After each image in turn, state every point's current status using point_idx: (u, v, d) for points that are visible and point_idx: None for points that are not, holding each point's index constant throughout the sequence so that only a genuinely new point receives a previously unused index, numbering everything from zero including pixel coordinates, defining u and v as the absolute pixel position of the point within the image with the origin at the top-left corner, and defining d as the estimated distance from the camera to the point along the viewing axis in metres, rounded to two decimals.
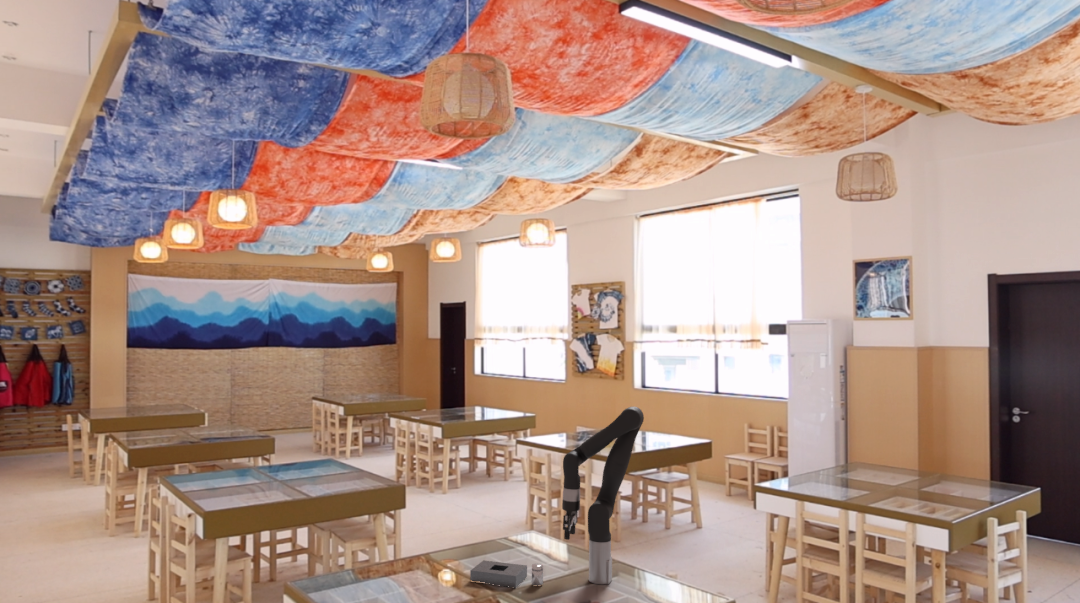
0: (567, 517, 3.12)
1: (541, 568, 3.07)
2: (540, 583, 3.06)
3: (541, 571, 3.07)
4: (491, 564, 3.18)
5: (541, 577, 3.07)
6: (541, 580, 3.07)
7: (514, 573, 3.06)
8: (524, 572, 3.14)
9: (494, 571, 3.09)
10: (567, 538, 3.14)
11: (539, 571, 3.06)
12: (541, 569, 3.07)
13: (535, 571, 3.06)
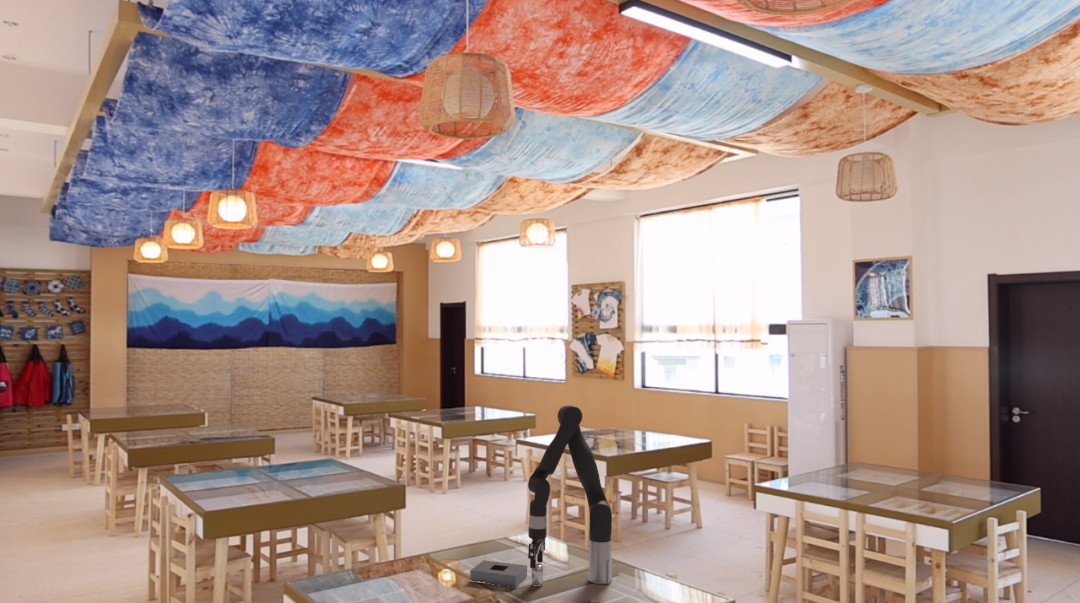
0: (532, 545, 3.02)
1: (541, 568, 3.07)
2: (540, 583, 3.06)
3: (541, 571, 3.07)
4: (491, 564, 3.18)
5: (541, 577, 3.07)
6: (541, 580, 3.07)
7: (514, 573, 3.06)
8: (524, 572, 3.14)
9: (494, 571, 3.09)
10: (533, 567, 3.04)
11: (539, 571, 3.06)
12: (541, 569, 3.07)
13: (535, 571, 3.06)
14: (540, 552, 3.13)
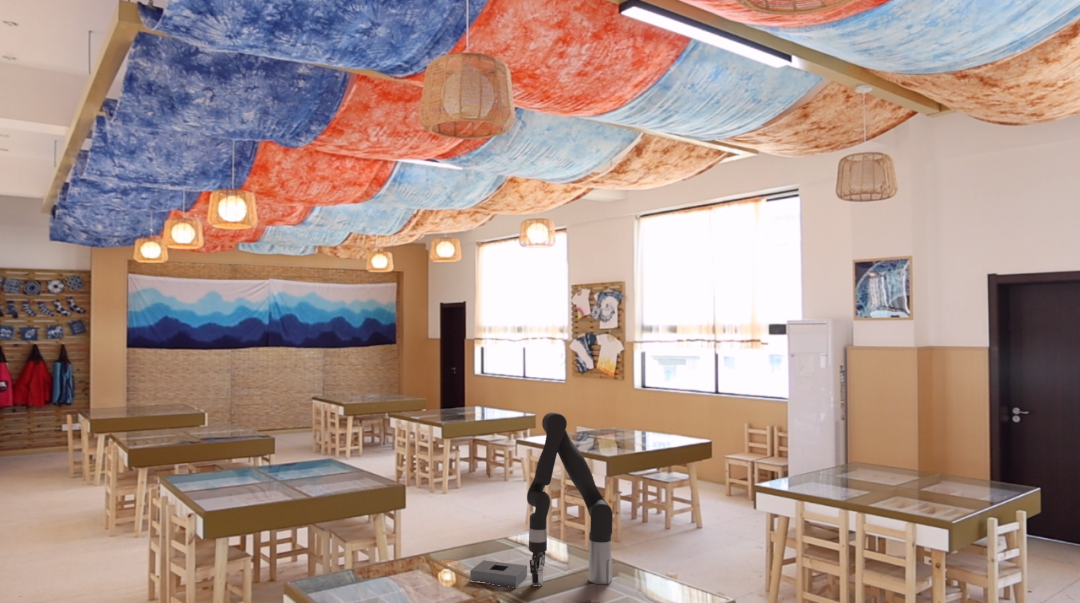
0: (533, 562, 3.02)
1: (541, 568, 3.07)
2: (540, 583, 3.06)
3: (541, 571, 3.07)
4: (491, 564, 3.18)
5: (541, 577, 3.07)
6: (541, 580, 3.07)
7: (514, 573, 3.06)
8: (524, 572, 3.14)
9: (494, 571, 3.09)
10: (535, 582, 3.05)
11: (539, 571, 3.06)
12: (541, 569, 3.07)
13: None
14: None
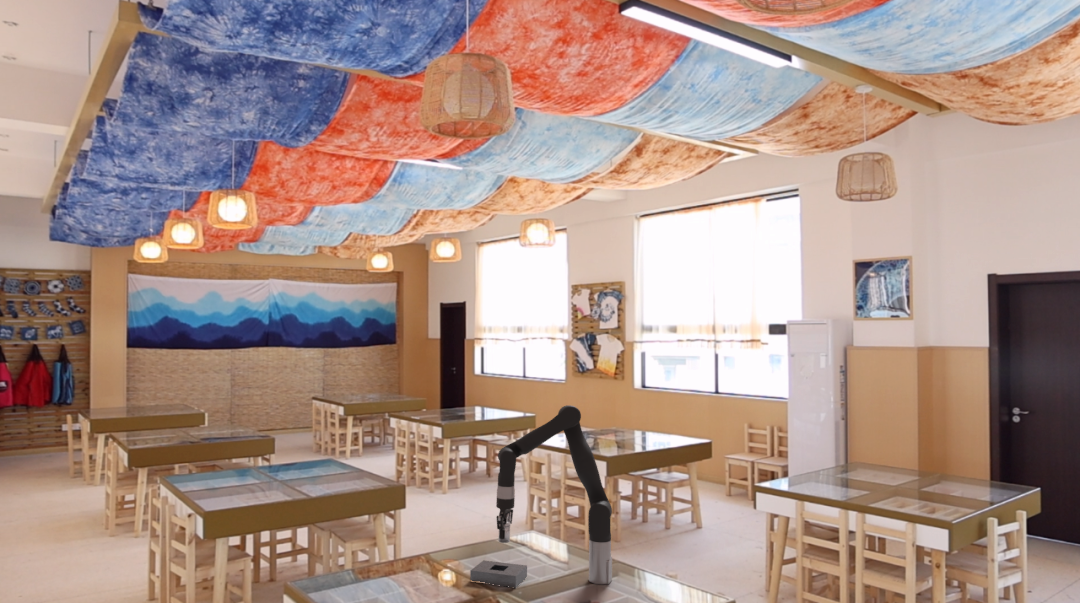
0: (500, 518, 3.07)
1: (508, 524, 3.11)
2: (506, 539, 3.11)
3: (508, 527, 3.11)
4: (491, 564, 3.18)
5: (508, 533, 3.12)
6: (508, 536, 3.11)
7: (514, 573, 3.06)
8: (524, 572, 3.14)
9: (494, 571, 3.09)
10: (502, 537, 3.10)
11: (506, 527, 3.11)
12: (508, 525, 3.11)
13: None
14: None
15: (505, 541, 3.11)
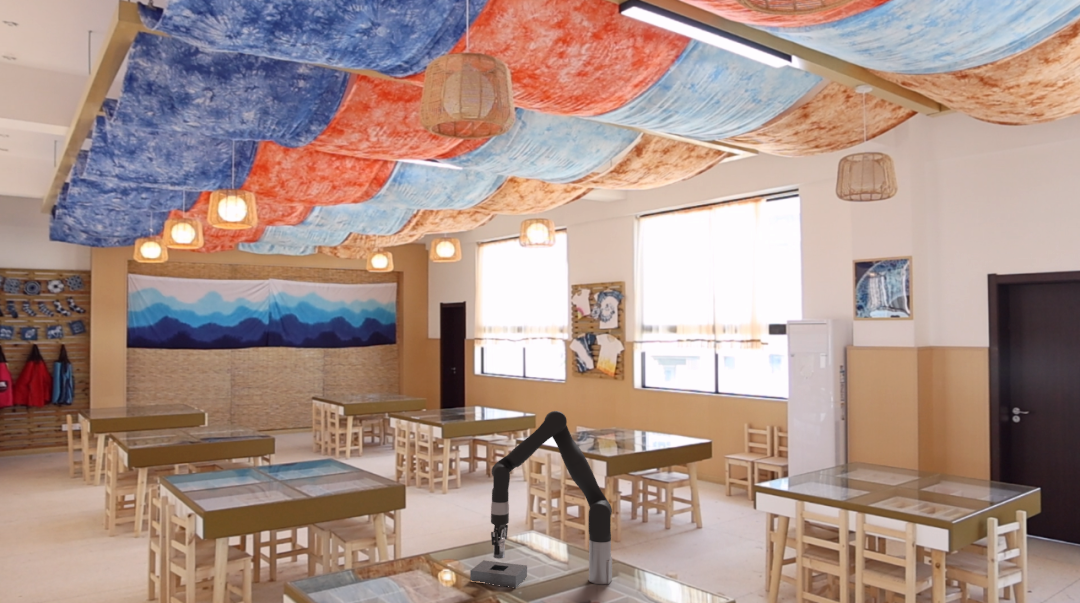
0: (494, 534, 3.08)
1: (502, 540, 3.12)
2: (501, 555, 3.12)
3: (502, 543, 3.12)
4: (491, 564, 3.18)
5: (502, 549, 3.12)
6: (502, 552, 3.12)
7: (514, 573, 3.06)
8: (524, 572, 3.14)
9: (494, 571, 3.09)
10: (497, 553, 3.10)
11: (500, 543, 3.12)
12: (502, 541, 3.12)
13: None
14: None
15: (500, 557, 3.12)
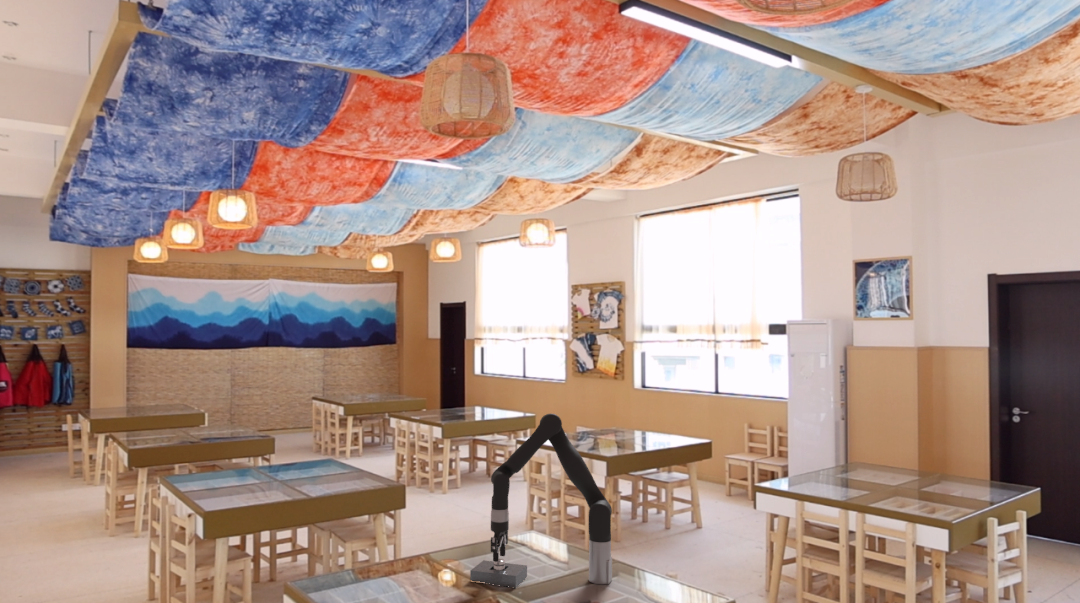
0: (494, 539, 3.07)
1: (502, 563, 3.12)
2: None
3: (502, 566, 3.12)
4: (491, 564, 3.18)
5: None
6: None
7: (514, 573, 3.06)
8: (524, 572, 3.14)
9: (494, 571, 3.09)
10: (496, 560, 3.09)
11: (500, 566, 3.12)
12: (502, 564, 3.12)
13: (496, 566, 3.12)
14: (503, 546, 3.17)
15: None
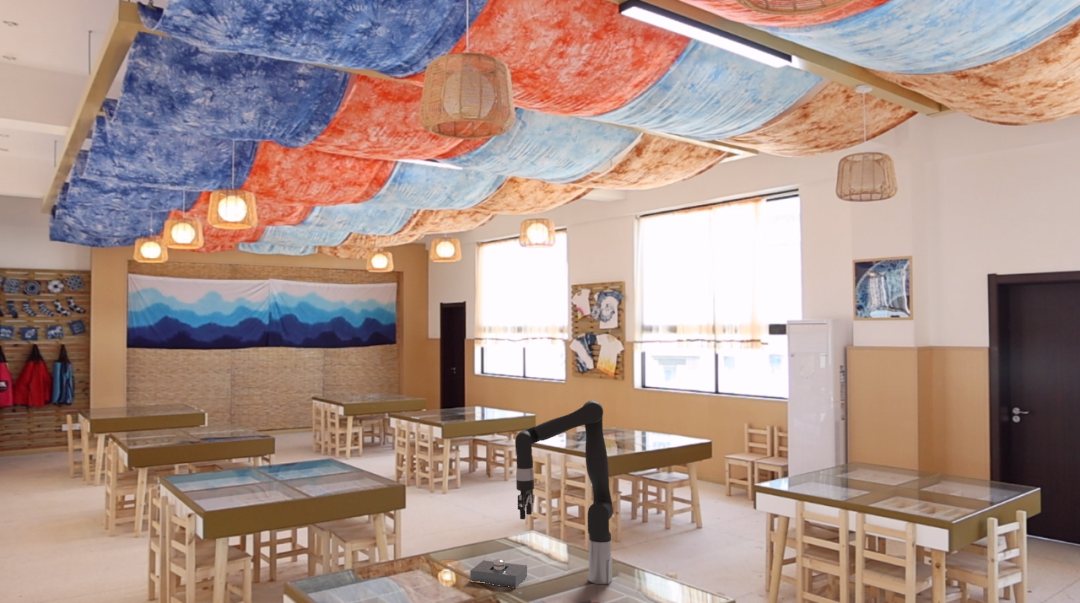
0: (521, 496, 3.12)
1: (502, 563, 3.12)
2: None
3: (502, 566, 3.12)
4: (491, 564, 3.18)
5: None
6: None
7: (514, 573, 3.06)
8: (524, 572, 3.14)
9: (494, 571, 3.09)
10: (523, 518, 3.13)
11: (500, 566, 3.11)
12: (502, 564, 3.12)
13: (496, 566, 3.11)
14: (529, 504, 3.22)
15: None
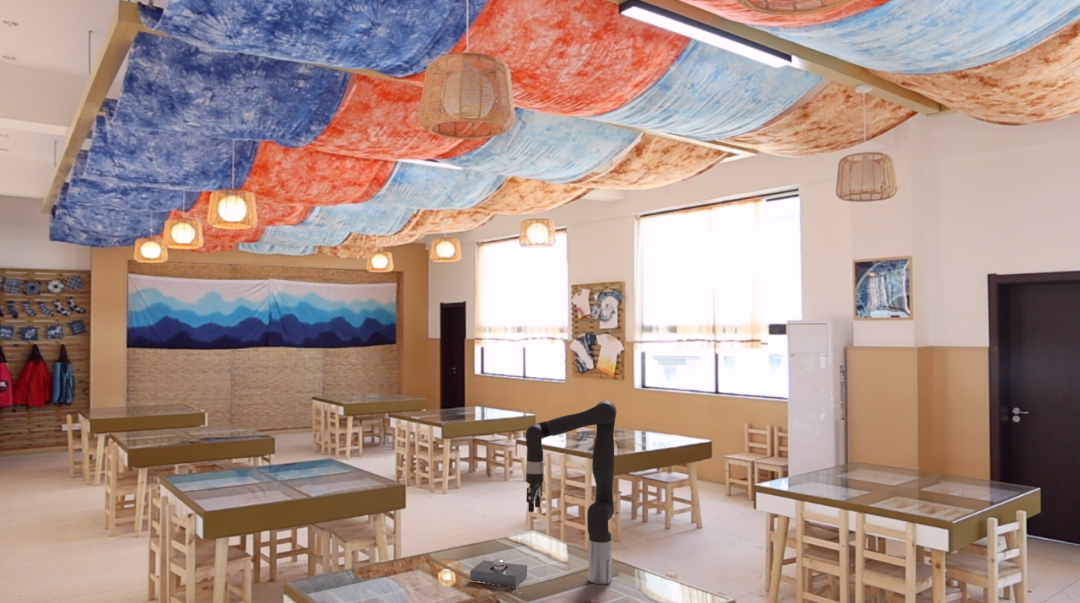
0: (530, 489, 3.14)
1: (502, 563, 3.12)
2: None
3: (502, 566, 3.12)
4: (491, 564, 3.18)
5: None
6: None
7: (514, 573, 3.06)
8: (524, 572, 3.14)
9: (494, 571, 3.09)
10: (531, 510, 3.15)
11: (500, 566, 3.12)
12: (502, 564, 3.12)
13: (496, 566, 3.12)
14: (538, 497, 3.24)
15: None
